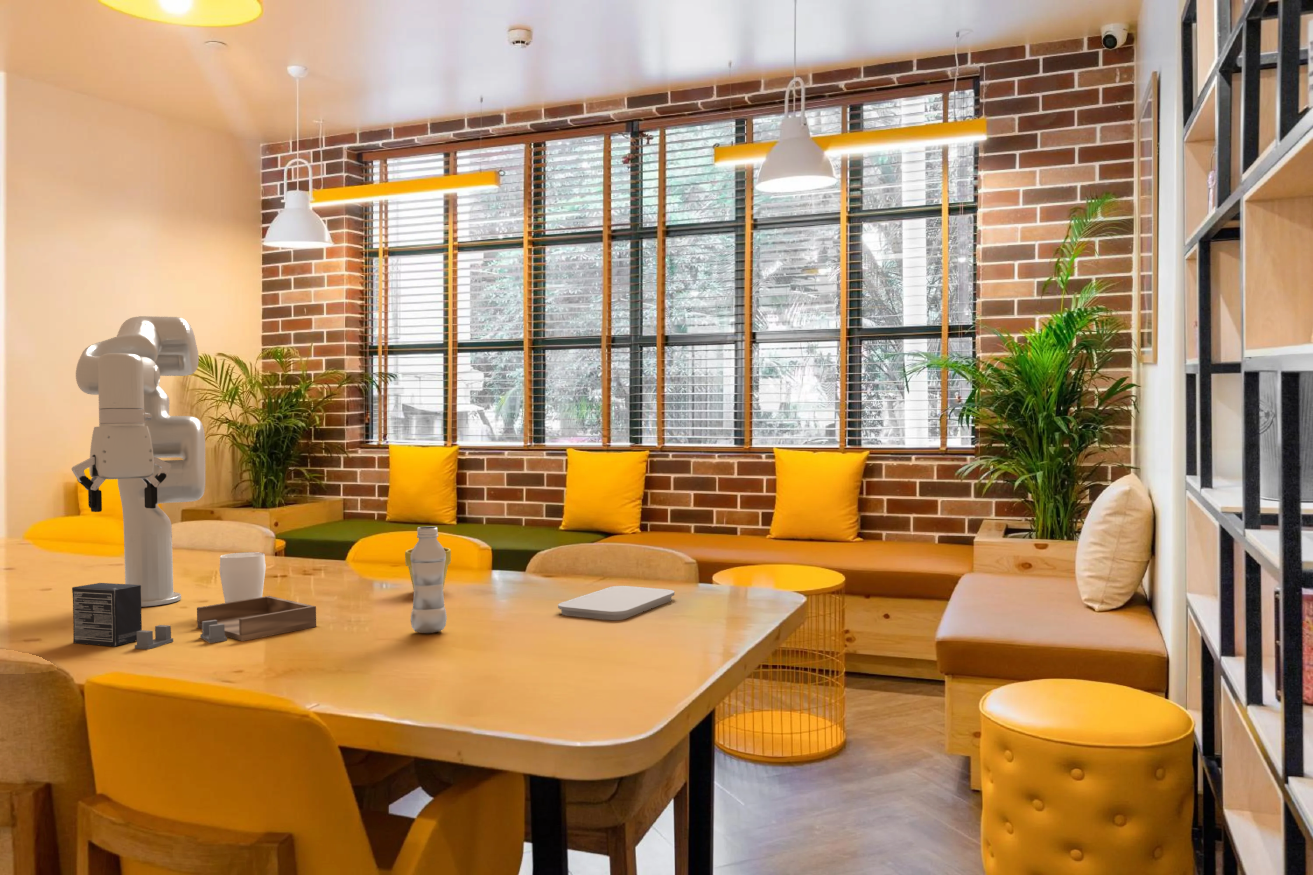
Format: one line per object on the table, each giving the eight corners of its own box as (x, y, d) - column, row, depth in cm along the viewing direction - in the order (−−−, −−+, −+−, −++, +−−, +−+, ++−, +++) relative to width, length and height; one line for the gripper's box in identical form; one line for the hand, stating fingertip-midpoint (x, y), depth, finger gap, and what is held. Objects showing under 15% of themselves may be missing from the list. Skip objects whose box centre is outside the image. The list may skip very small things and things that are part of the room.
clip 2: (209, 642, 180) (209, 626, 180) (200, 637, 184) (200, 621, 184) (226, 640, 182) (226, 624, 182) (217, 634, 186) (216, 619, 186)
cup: (250, 616, 203) (248, 558, 202) (211, 615, 205) (209, 557, 204) (275, 607, 212) (274, 552, 211) (237, 606, 213) (236, 551, 213)
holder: (197, 627, 193) (196, 607, 193) (269, 614, 204) (269, 595, 204) (242, 640, 181) (241, 619, 181) (316, 626, 192) (315, 606, 192)
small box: (145, 639, 184) (143, 583, 183) (115, 647, 177) (113, 589, 177) (102, 635, 187) (100, 580, 187) (71, 643, 181) (70, 586, 180)
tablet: (552, 616, 201) (551, 605, 201) (616, 594, 224) (615, 584, 224) (620, 624, 194) (620, 612, 194) (679, 600, 217) (679, 590, 217)
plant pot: (445, 595, 223) (445, 552, 223) (400, 595, 224) (399, 553, 223) (455, 587, 234) (455, 546, 234) (412, 587, 234) (411, 546, 234)
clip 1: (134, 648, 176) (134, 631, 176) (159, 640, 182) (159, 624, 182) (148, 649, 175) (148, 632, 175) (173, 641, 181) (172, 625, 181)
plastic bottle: (413, 629, 189) (411, 525, 189) (449, 628, 190) (447, 525, 189) (408, 636, 183) (406, 530, 182) (445, 635, 183) (443, 529, 183)
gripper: (159, 420, 194) (161, 506, 194) (63, 419, 181) (65, 512, 180) (177, 418, 189) (179, 507, 189) (80, 418, 176) (82, 513, 176)
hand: (123, 509), depth 185 cm, fingers open, 9 cm apart
